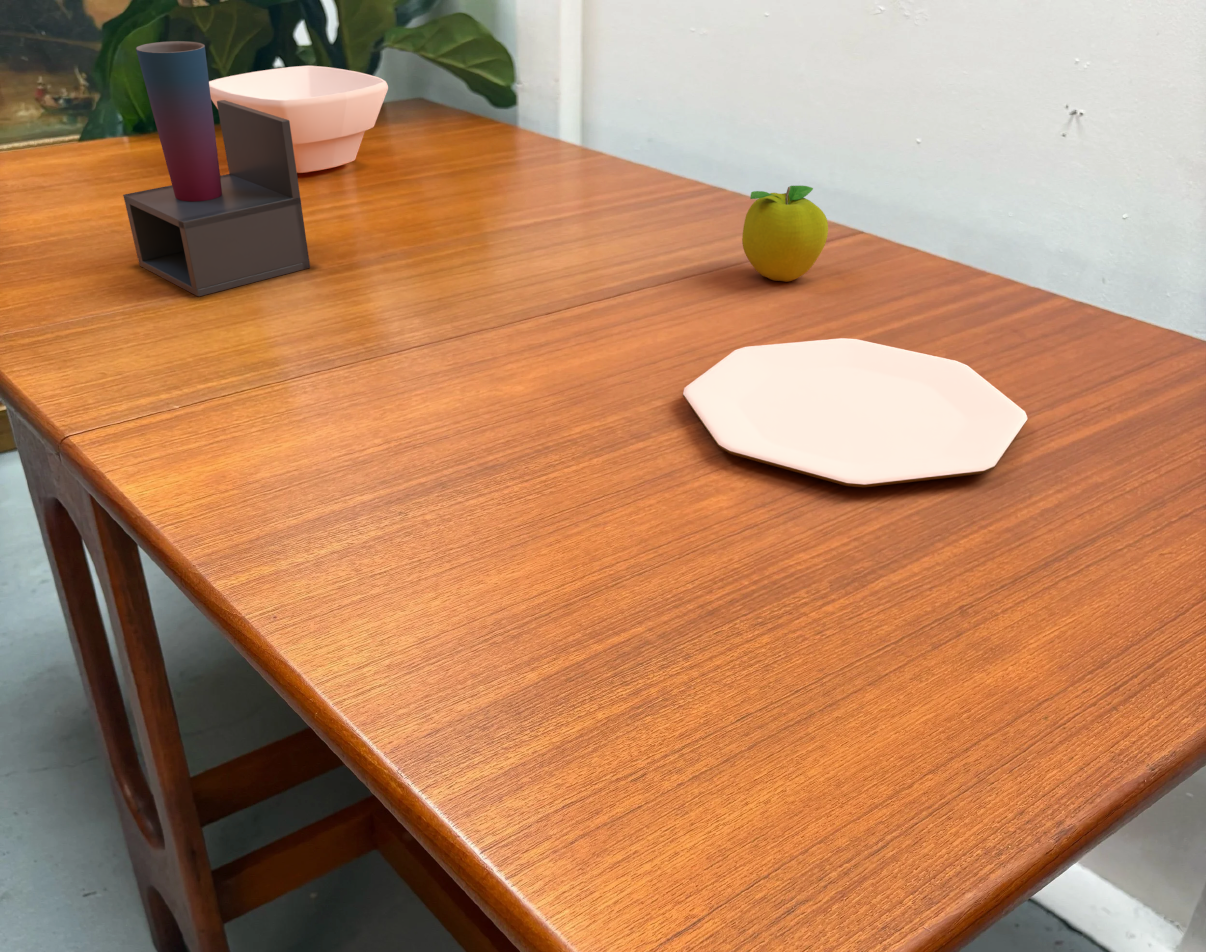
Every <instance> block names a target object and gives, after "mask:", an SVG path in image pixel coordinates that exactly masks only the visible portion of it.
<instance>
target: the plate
mask: <svg viewBox="0 0 1206 952" xmlns="http://www.w3.org/2000/svg"><path fill="white" fill-rule="evenodd" d="M682 397H683V398H684V400H685V401H686V403H687V404H688V406H689V407H690V408H691V409H692V411H693V413H694V414H695V416H696V417H697V418H698V419H699V421H700V423H701V424H702V425H703V427H704V428H705V429H706V431H707V432H708V434H709V435H710V436H711V439H712V440H713V441H714V442H715V444H716V445H717V447H718V448H720V449H721V450H723V451H725V452H727V453H728V454H730V455H733V456H737V457H740V458H743V459H748V460H751V461H755V462H759V463H762V464H765V465H770V466H772V467H777V468H780V469H784V470H787V471H791V472H795V473H799V474H803V475H806V476H809V477H813V478H817V479H819V480H823V481H828V482H830V483H831V482H832V483H834V484H839V485H841V486H845V487H853V488H871V487H878V486H887V485H896V484H897V485H898V484H903V483H904V484H905V483H912V482H923V481H931V480H939V479H948V478H955V477H964V476H972V475H981V474H984V473H987V472H989V471H991V470H994V469H995V468H996V466H997V465H998V464H999V462H1000V460H1001V459H1002V458H1003V456H1004V455H1005V454H1006V452H1007V451H1008V449H1009V448H1010V446H1011V445H1012V443H1013V442H1014V441H1015V439H1016V437H1017V436H1018V435H1019V434H1020V432H1021V430H1022V429H1023V427H1024V426H1025V425H1026V423H1027V422H1028V415H1027V413H1026V411H1025V410H1024V409H1022V408H1021V407H1020V406H1019V405H1018V404H1017V403H1015V402H1014V401H1012V400H1011V399H1010V398H1009V397H1008V396H1006V395H1005V394H1004V393H1003V392H1002V391H1000V390H999V389H997V388H996V387H995V386H994V385H993V384H991V383H990V382H989V381H988V380H987V379H985V378H984V377H983V376H981V375H980V374H979V373H977V371H975V370H974V369H973V368H971V367H970V366H969V365H967V364H965V363H963V362H960V361H958V360H954V359H949V358H945V357H941V356H935V355H931V354H926V353H922V352H917V351H912V350H908V349H904V348H899V347H894V346H890V345H885V344H881V343H875V342H871V341H866V340H862V339H858V338H846V337H845V338H844V337H840V338H830V339H828V338H827V339H818V340H817V339H816V340H806V341H796V342H795V341H794V342H784V343H773V344H762V345H750V346H744V347H740V348H737V349H735V350H733V351H731V353H729V354H728V355H727V356H725V357H724V358H722V359H721V360H719V361H718V362H717V363H715V364H714V365H713V366H712V367H710V368H708V370H706V371H705V372H704V373H701V375H699V376H698V377H697V378H695V379H694V380H693V381H691V382H690V383H689V384H687V385H686V386H685V387H683V393H682Z"/></svg>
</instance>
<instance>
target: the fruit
mask: <svg viewBox="0 0 1206 952" xmlns="http://www.w3.org/2000/svg"><path fill="white" fill-rule="evenodd" d="M813 190H814V187H811V186H808V185H790V186H788V187H787V189H786V192H784V193H778V192H767V191H763V190H754V191H751V192H750V200H755V201H753V203H752V204H751V205H750V207H749V208H748V210H747V212H746V214H745V218H744V223H743V229H742V235H741V237H742V238H741V242H742V243H741V244H742V248H743V252H744V254H745V256H746V258H747V259H748V262H749V263H750V264H751V266H752V268H754V270H755V271H756V272H757V273H758V275H759V274H760V275H761V276H762V277H765V278H768V279H769V280H772V281H774V282H775V281H776V282H784V283H785V282H787V283H788V282H791V281H794V280H797V279H799V278H801V277H802V276H804V275H805V274H807V272H808V271H809V270H810V269H812V267H813V265H814V264H815V263H816V261H818V259H819V257H820V255H821V254H822V252H823V250H824V249H825V246H826V243H827V240H828V235H829V222H828V218H827V216H826V214H825V212H824V211H823V210H822V209H821V208H820V207H819V206H818V205H816V203H814V202H813V201H811V200H810V199H808V198H805V197H806V196H808V195H809V194H810V193H812V191H813Z"/></svg>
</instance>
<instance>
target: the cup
mask: <svg viewBox="0 0 1206 952" xmlns="http://www.w3.org/2000/svg"><path fill="white" fill-rule="evenodd" d="M135 51H136V55H137V58H138V62H139V66H140V70H141V73H142V77H143V82H144V85H145V88H146V92H147V97H148V100H149V104H150V108H151V112H152V115H153V118H154V122H155V127H156V130H157V134H158V137H159V141H160V144H161V149H162V153H163V156H164V159H165V165H166V167H167V172H168V175H169V178H170V179H169V180H170V182H171V183H170V184H171V185H172V187H173V190H174V194H175V197H176V199H178V200H182V201H191V202H195V201H206V200H211V199H215V198H218V197H220V196H221V195H222V188H221V180H220V176H221V172H220V163H219V155H218V146H217V139H216V138H217V137H216V131H215V121H214V120H215V119H214V113H213V112H214V111H213V105H212V104H213V102H212V100H211V95H210V86H209V81H210V79H209V69H208V62H207V53H206V45H205V44H204V43H202V42H197V41H183V40H182V41H181V40H180V41H179V40H177V41H173V40H172V41H160V42H159V41H158V42H151V43H144V44H140V45H138V46H136V47H135Z"/></svg>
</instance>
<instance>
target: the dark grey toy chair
mask: <svg viewBox="0 0 1206 952" xmlns="http://www.w3.org/2000/svg"><path fill="white" fill-rule="evenodd" d="M217 106H218V109H217V111H218V117H219V123H220V127H221V134H222V138H223V146H224V151H225V156H226V162H227V168H228V169H227V170H228V173H227V174H220V180H221V188H222V195H221V196H220V197H218V198H215V199H211V200H206V201H195V202H191V201H182V200H178V199H176V197H175V194H174V190H173V187H172V184H171V185H165V186H160V187H156V188H149V189H144V190H140V191H135V192H129V193H125V194H123V195H122V196H123V201H124V205H125V208H126V213H127V218H128V222H129V226H130V231H131V235H132V239H133V243H134V247H135V252H136V256H137V257H136V258H137V261H138V265H139V266H140V268H143V269H145V270H147V271H148V272H151V273H152V274H155V275H157V276H158V277H160V278H162V279H163V280H166V281H167V282H170V283H171V284H173V285H175V286H177V287H179V288H181V289H182V290H185V291H187V292H188V293H190V294H193V295H194V296H196V297H204V296H206V295H211V294H214V293H219V292H222V291H226V290H230V289H234V288H237V287H242V286H246V285H249V284H253V283H256V282H261V281H265V280H269V279H272V278H276V277H277V278H278V277H280V276H284V275H288V274H292V273H296V272H299V271H304V270H307V269H310V268H311V262H310V256H309V249H308V241H307V234H306V228H305V220H304V214H303V205H302V198H301V193H300V186H299V177H298V173H297V171H296V164H295V157H294V150H293V143H292V136H291V129H290V122H289V120H287V119H284V118H280V117H277V116H274V115H271V114H268V113H264V112H261V111H258V110H255V109H251V108H248V107H245V106H242V105H239V104H235V103H232V102H229V101H226V100H220V101H217Z"/></svg>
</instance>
